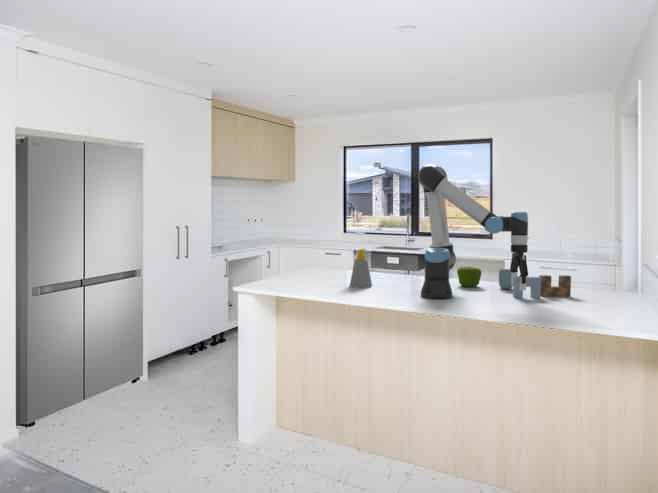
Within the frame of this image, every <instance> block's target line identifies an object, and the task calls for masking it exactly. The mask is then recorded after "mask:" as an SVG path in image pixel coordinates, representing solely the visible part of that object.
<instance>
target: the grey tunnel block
mask: <svg viewBox="0 0 658 493" xmlns="http://www.w3.org/2000/svg"><path fill="white" fill-rule="evenodd" d="M519 276H520V275H519ZM519 276H518V275H517V276H514V277H513V287H512V297H513V298H514V299H523V298H524V296H523V295H524V290H520V277H519ZM526 288H530V292H529V293H530V294H529V295H530V296H529V297H530V298H532V299H541V296H540V293H541V277H539V276H527V277H526Z"/></svg>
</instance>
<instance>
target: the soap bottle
mask: <svg viewBox="0 0 658 493" xmlns="http://www.w3.org/2000/svg"><path fill="white" fill-rule="evenodd" d="M365 250H366V248H362V249H361V248H359V249H358V253H357V255H356V258H355V259H354V263H353V267H352V273H351V276H350V280H349V281H350V282H349V286H352V287H351V288H354V287H359V288H358V289H366V288H365V287H369V288H372V287H373V284H372V282H373V281H372V277H371V272H370V268H369V267H370V266H369V262H368V259H367V258H366V254H365V253H364V251H365ZM371 286H372V287H371Z"/></svg>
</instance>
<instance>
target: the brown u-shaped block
mask: <svg viewBox="0 0 658 493" xmlns="http://www.w3.org/2000/svg"><path fill="white" fill-rule="evenodd" d="M538 277H541V293H540V297H558V298H560V297H566V298H567V297H569V298H571V293H572V292H571V287H572V275H568V274H567V275H564V274H563V275H562V274H561V275H558V285H557V286H555V285H554V286H553V285H552V275H546V274H544V275H543V274H539V276H538Z"/></svg>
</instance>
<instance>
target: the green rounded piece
mask: <svg viewBox="0 0 658 493" xmlns="http://www.w3.org/2000/svg"><path fill="white" fill-rule="evenodd" d="M456 274H457V277H458V283H459V285H461V287H465V288H474V287H476V286H478V285H480V280H481V277H482V270H481V269H480V268H478V267H473V266H463V267H459V268H457V271H456Z"/></svg>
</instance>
